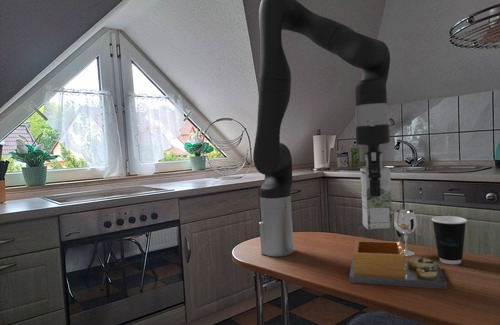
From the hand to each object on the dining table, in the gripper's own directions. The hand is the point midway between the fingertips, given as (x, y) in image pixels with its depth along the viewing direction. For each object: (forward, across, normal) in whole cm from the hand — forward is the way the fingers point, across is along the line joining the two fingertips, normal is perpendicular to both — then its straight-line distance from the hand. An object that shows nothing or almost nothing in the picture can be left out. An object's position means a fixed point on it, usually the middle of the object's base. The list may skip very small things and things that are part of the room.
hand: (375, 193), depth 85 cm
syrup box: (+8, 0, 0) cm, 8 cm away
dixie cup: (+20, -12, +18) cm, 29 cm away
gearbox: (+20, 0, +4) cm, 20 cm away
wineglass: (+20, -17, +8) cm, 27 cm away
